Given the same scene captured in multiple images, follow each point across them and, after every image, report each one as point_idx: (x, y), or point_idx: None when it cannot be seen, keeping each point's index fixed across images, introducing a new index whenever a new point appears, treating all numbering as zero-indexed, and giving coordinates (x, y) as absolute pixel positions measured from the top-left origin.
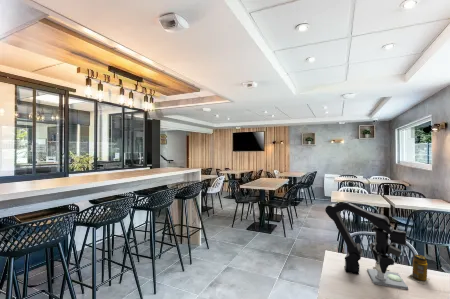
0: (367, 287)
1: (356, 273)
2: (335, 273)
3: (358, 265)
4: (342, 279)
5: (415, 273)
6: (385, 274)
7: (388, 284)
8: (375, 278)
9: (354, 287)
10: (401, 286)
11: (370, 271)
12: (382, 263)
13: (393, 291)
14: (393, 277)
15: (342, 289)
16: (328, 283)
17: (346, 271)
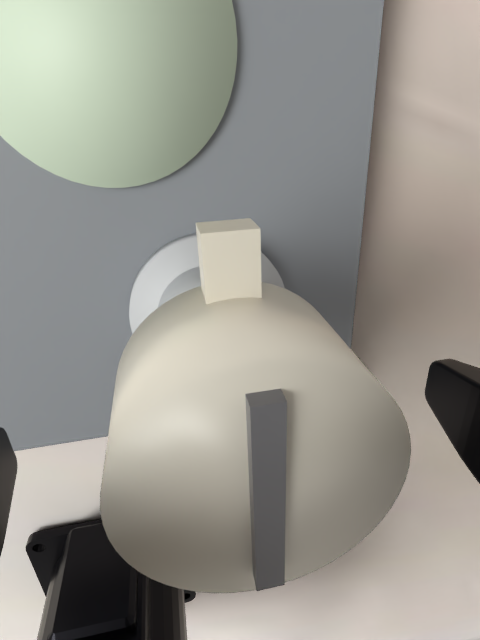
0: (416, 434)
1: None
2: (248, 636)
3: (136, 614)
4: (331, 589)
5: None
6: (36, 205)
7: (356, 225)
8: None
9: (432, 515)
10: (380, 7)
11: (67, 419)
12: None
13: (454, 181)
14: (103, 68)
15: (468, 570)
16: (409, 635)
17: (190, 599)
